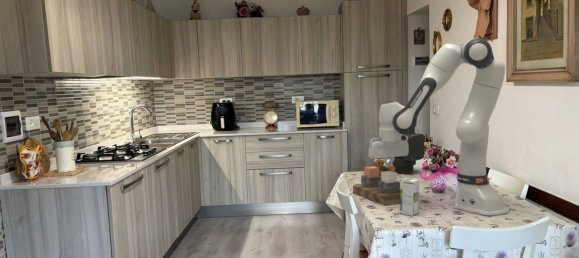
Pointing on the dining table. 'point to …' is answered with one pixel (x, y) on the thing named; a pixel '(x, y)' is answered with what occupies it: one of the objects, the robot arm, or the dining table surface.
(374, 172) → the reddish orange cube
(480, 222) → the dining table surface
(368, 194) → the button board
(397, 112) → the robot arm
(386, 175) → the white cube
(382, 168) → the stuffed squirrel
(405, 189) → the syrup box
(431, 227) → the dining table surface
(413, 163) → the black device with handle
